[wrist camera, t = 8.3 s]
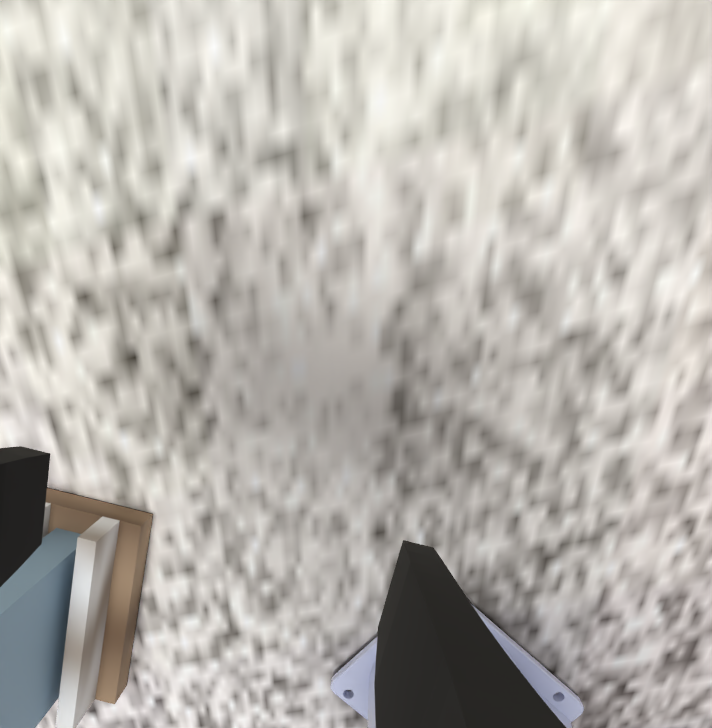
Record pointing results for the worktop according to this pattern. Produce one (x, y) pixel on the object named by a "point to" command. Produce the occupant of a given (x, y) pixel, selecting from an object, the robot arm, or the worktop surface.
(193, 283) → the worktop surface
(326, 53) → the worktop surface
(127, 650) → the bottom track
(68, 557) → the door panel
